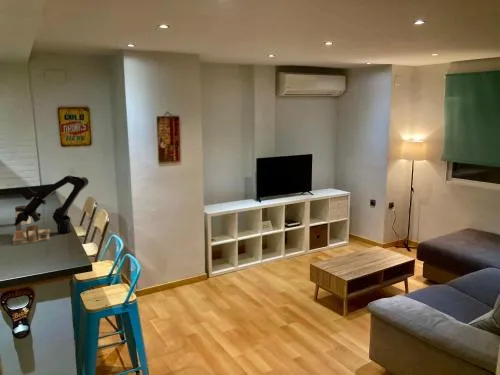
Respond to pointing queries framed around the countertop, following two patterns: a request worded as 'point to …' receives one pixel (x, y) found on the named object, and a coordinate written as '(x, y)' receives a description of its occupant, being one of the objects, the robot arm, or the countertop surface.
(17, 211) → the jar
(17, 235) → the knobbed beige slab
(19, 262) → the countertop surface
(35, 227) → the tunnel
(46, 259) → the countertop surface
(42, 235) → the board
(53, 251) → the countertop surface
